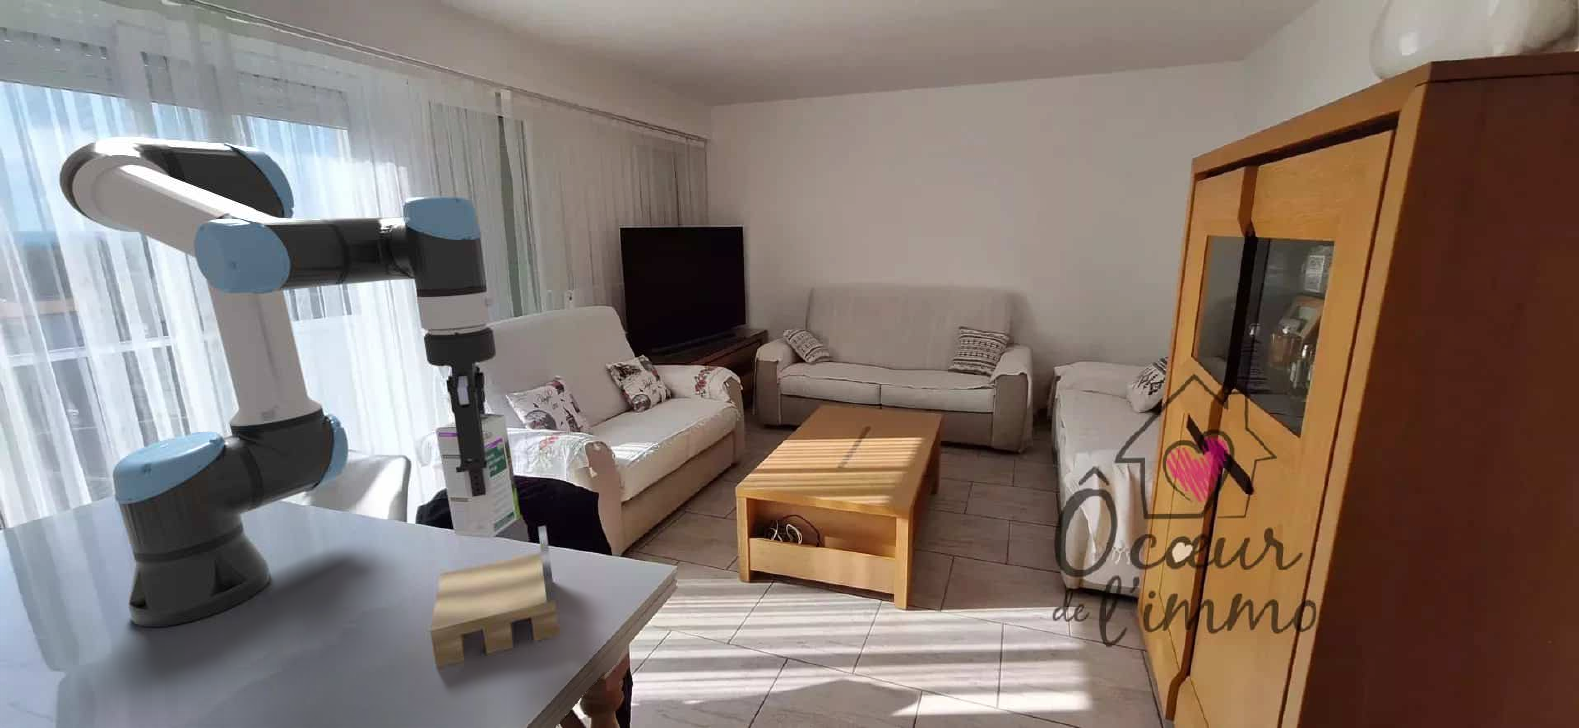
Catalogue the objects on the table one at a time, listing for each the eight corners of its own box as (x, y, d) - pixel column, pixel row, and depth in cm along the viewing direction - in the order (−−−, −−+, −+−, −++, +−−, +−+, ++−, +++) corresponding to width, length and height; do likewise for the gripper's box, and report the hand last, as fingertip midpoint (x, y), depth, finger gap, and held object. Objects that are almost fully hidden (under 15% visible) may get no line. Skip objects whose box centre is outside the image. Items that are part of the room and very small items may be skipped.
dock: (446, 605, 89) (436, 547, 87) (552, 581, 94) (545, 525, 92) (436, 667, 76) (424, 600, 74) (559, 635, 82) (551, 571, 80)
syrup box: (493, 539, 79) (477, 427, 76) (452, 535, 80) (434, 426, 77) (521, 518, 84) (507, 413, 81) (482, 515, 86) (466, 412, 82)
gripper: (490, 338, 69) (517, 531, 74) (493, 316, 87) (515, 472, 92) (411, 345, 66) (444, 546, 71) (432, 321, 84) (457, 482, 89)
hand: (484, 504), depth 82 cm, fingers closed on syrup box, 8 cm apart
